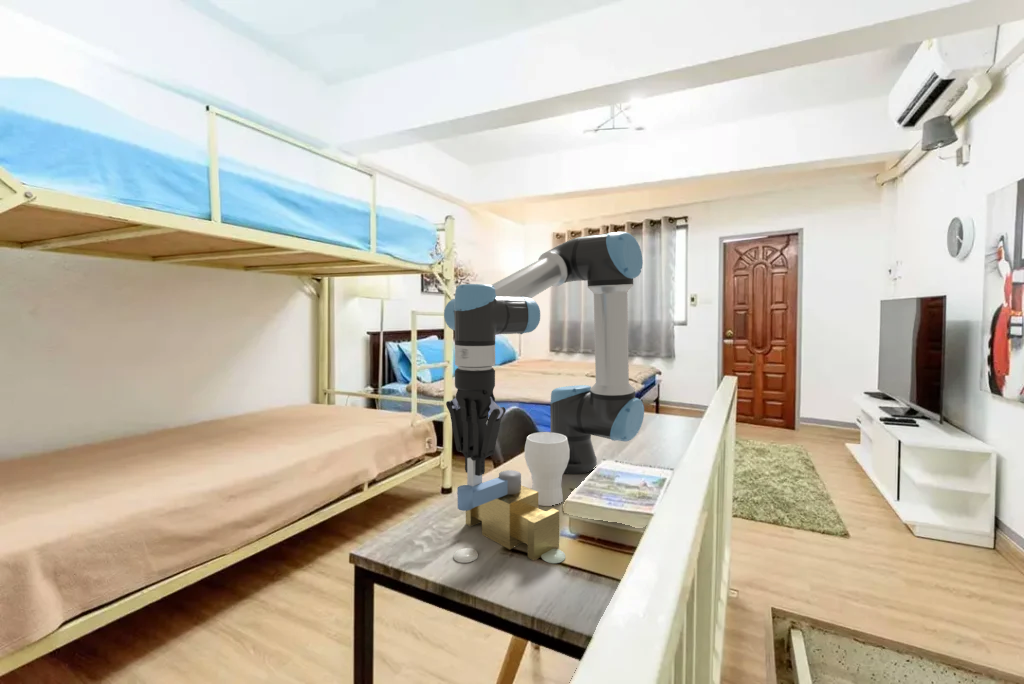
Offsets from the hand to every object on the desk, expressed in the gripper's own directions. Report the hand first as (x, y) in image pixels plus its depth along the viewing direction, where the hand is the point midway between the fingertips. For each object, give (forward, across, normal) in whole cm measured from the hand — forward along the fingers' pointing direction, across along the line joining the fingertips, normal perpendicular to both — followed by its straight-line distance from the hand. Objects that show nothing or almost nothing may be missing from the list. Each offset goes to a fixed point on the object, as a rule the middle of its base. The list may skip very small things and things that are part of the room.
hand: (474, 490), depth 85 cm
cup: (+11, +1, +26) cm, 28 cm away
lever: (+1, +2, +2) cm, 3 cm away
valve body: (+11, +3, +7) cm, 13 cm away
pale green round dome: (+11, +14, +5) cm, 19 cm away
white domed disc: (+11, +1, -4) cm, 11 cm away
